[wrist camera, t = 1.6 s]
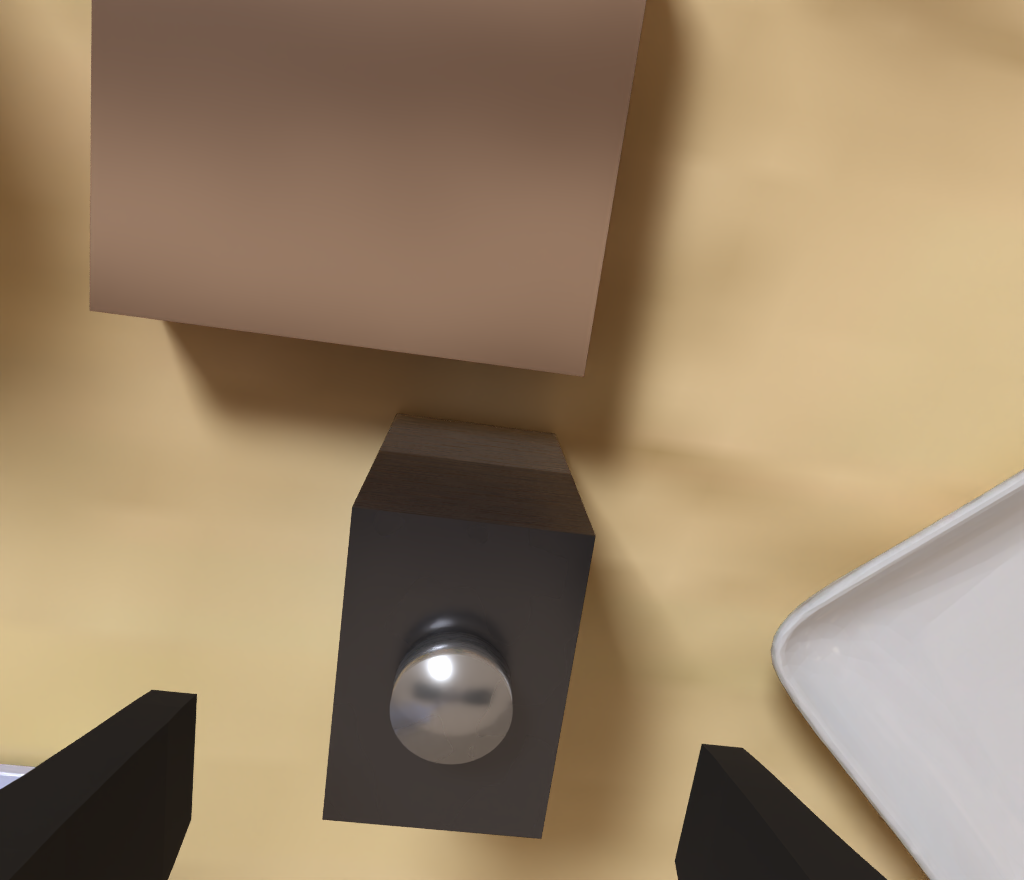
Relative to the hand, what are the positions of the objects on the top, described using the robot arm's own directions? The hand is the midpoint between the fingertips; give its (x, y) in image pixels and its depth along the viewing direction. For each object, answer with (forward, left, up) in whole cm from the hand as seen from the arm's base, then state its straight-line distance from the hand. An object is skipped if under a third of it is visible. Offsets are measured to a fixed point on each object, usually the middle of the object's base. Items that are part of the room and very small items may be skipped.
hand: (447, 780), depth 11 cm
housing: (0, 0, -10) cm, 10 cm away
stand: (+10, +3, -9) cm, 14 cm away
